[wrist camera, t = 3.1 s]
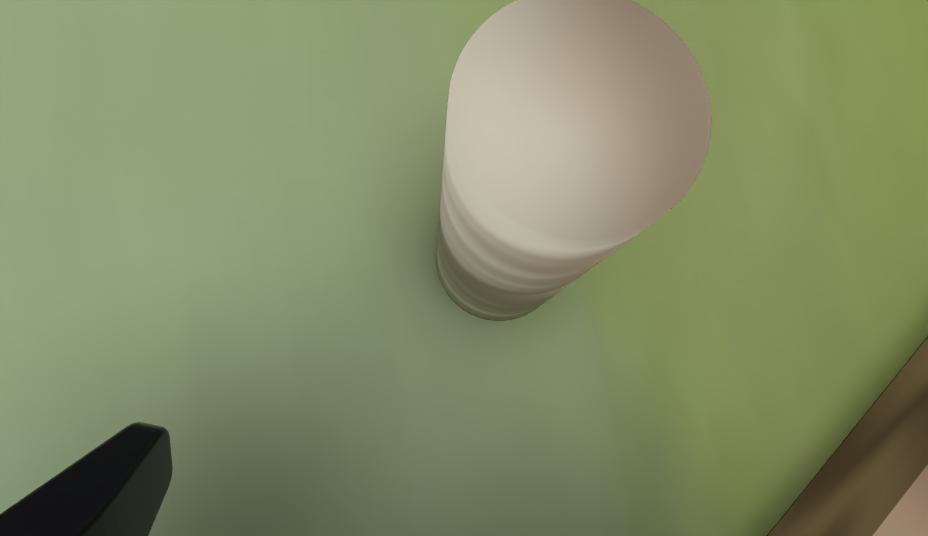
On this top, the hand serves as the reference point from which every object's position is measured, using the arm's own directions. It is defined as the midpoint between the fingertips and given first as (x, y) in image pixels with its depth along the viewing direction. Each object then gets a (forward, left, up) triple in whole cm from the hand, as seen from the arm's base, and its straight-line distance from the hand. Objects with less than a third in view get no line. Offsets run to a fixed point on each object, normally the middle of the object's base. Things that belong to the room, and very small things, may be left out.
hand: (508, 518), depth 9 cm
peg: (+2, +5, -12) cm, 14 cm away
